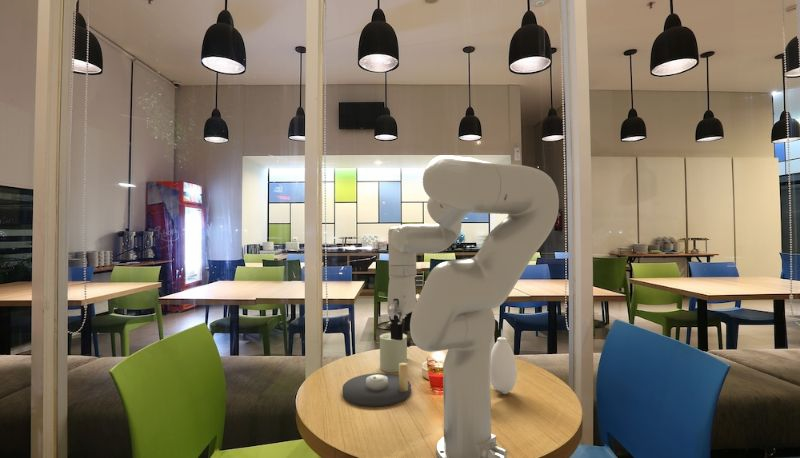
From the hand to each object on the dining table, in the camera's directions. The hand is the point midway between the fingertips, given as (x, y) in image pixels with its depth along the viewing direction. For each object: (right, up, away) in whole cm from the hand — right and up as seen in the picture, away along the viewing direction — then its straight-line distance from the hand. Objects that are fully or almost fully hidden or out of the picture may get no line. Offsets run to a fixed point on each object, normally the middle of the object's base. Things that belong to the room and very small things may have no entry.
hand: (403, 335), depth 100 cm
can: (-3, -18, +22) cm, 29 cm away
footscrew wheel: (-7, -17, +3) cm, 18 cm away
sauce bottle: (+28, -18, +4) cm, 33 cm away
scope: (-2, -19, +35) cm, 40 cm away
